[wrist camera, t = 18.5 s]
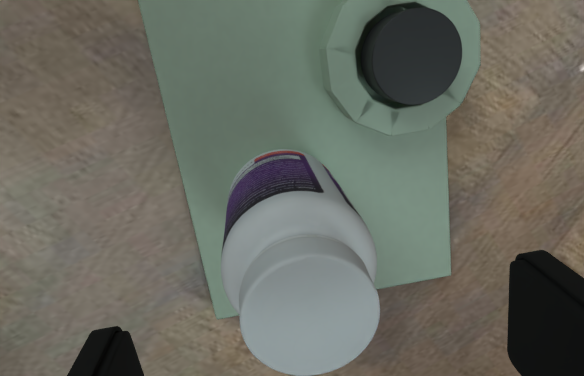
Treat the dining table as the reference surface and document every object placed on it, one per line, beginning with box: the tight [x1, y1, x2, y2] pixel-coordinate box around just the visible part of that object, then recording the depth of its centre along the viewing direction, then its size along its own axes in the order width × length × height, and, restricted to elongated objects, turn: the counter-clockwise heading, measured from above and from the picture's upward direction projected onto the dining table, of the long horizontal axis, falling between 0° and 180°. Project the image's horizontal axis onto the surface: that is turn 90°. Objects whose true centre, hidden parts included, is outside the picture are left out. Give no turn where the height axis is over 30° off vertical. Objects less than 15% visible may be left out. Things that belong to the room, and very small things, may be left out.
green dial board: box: [138, 0, 480, 319], centre depth 20 cm, size 16×14×3 cm
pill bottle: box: [221, 149, 380, 376], centre depth 16 cm, size 5×5×10 cm
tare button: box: [361, 7, 462, 105], centre depth 17 cm, size 4×4×2 cm
